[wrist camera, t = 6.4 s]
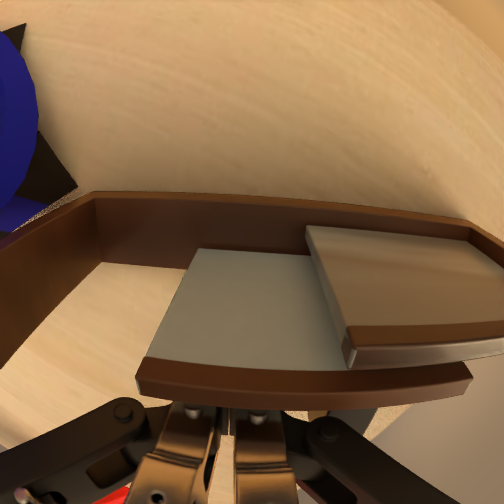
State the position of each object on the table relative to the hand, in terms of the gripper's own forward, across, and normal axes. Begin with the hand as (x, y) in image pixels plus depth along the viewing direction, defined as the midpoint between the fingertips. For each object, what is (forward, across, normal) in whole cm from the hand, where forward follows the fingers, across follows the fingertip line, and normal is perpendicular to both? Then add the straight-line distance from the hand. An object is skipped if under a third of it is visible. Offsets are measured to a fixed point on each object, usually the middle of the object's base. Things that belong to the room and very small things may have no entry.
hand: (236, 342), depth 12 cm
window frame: (+5, -2, -2) cm, 6 cm away
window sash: (+3, -2, -1) cm, 4 cm away
